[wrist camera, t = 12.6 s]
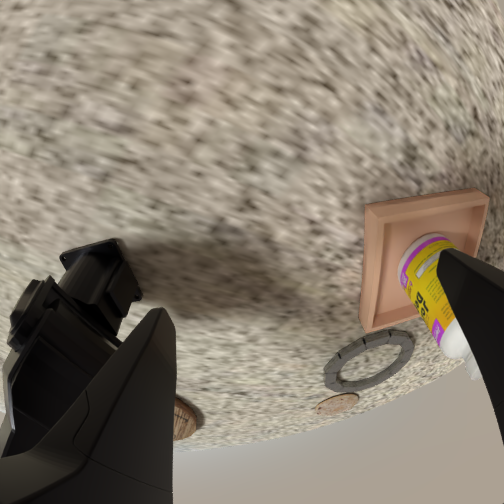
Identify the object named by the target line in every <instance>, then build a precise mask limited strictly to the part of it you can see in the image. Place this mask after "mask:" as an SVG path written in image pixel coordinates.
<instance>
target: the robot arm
mask: <svg viewBox="0 0 504 504" xmlns="http://www.w3.org/2000/svg"><path fill="white" fill-rule="evenodd" d="M110 244H111V245H113V247H111V246H110ZM64 257H65V258H66V259H65V258H64ZM60 261H61V262H62V264H63V266H64V268H65V269H66V272H65V274H64V275H63V277H62V279H61V280H60V282H59V283H58V284H57V283H56V282H55V280H54V279H53V278H52V277H51V275H49V276H48V277H47V278H46V279H45V280H42V281H38V280H35V279H33V280H32V281H31V282H30V283H29V285H28V286H27V288H26V289H25V291H24V292H23V294H22V295H21V297H20V298H19V300H18V302H17V304H16V305H15V307H14V309H13V311H12V313H11V315H10V322H11V328H10V331H9V336H8V339H7V344H8V345H9V346H10V347H11V348H12V349H11V351H10V353H9V355H8V357H7V359H6V361H5V363H4V365H3V369H2V372H3V388H4V399H5V407H6V415H5V418H4V421H3V423H2V426H1V428H0V504H173V493H172V492H173V489H172V488H173V487H172V472H173V471H172V469H173V432H174V411H175V394H176V379H177V364H176V330H175V326H174V324H173V322H172V320H171V318H170V316H169V315H168V313H167V311H166V309H165V308H163V307H160V308H153V309H151V310H150V311H149V312H148V313H147V314H146V316H145V317H144V318H143V319H142V320H141V321H140V323H139V324H138V325H137V326H136V327H135V329H134V330H133V331H132V332H131V333H130V334H129V336H128V337H127V338H126V339H125V340H124V342H122V341H120V340H119V339H118V338H117V337H115V336H117V334H118V331H119V328H120V325H121V322H122V319H123V318H126V316H127V314H128V311H129V308H130V305H131V303H132V302H136V301H140V300H141V299H142V296H143V294H142V292H141V290H140V288H139V286H138V282H137V280H136V278H135V277H134V275H133V273H132V271H131V269H130V267H129V265H128V263H127V261H126V260H125V259H124V257H123V255H122V253H121V250H120V248H119V246H118V244H117V242H116V241H115V240H113V239H108V240H105V241H101V242H97V243H94V244H90V245H86V246H83V247H79V248H76V249H72V250H69V251H66V252H63V253H62V254H61V255H60ZM436 274H437V277H438V279H439V281H440V284H441V286H442V288H443V290H444V293H445V295H446V297H447V300H448V302H449V304H450V307H451V309H452V311H453V313H454V315H455V318H456V320H457V321H458V323H459V325H460V327H461V330H462V332H463V334H464V336H465V338H466V340H467V342H468V344H469V346H470V349H471V351H472V353H473V355H474V358H475V360H476V362H477V365H478V367H479V370H480V372H481V375H482V377H483V380H484V383H485V385H486V388H487V391H488V393H489V396H490V399H491V402H492V405H493V408H494V412H495V415H496V418H497V422H498V425H499V429H500V432H501V436H502V440H503V444H504V271H502V270H500V269H498V268H496V267H494V266H491V265H489V264H487V263H485V262H483V261H481V260H479V259H476V258H474V257H472V256H470V255H468V254H465V253H463V252H461V251H459V250H456V249H454V248H446V249H443V250H442V251H441V252H440V255H439V260H438V264H437V268H436ZM136 295H138V296H136ZM503 504H504V503H503Z"/></svg>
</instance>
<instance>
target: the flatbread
mask: <svg viewBox="0 0 504 504" xmlns="http://www.w3.org/2000/svg"><path fill="white" fill-rule="evenodd" d="M357 402H358V396H357V395H355V394H344V395H339V396H335V397H332V398H330V399H327V400H325V401H323V402H321V403H320V404H318V405H317V406H316V408H315V411H316V413H317V414H319V415H321V416H333V415H335V414H338V413H341V412H344V411H347V410H349V409H351V408H352V407H353V406H354V405H355V404H356V403H357Z"/></svg>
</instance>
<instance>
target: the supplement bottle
mask: <svg viewBox="0 0 504 504" xmlns="http://www.w3.org/2000/svg"><path fill="white" fill-rule="evenodd" d="M446 248H454V249H456V250H459V249H458V248H457V247H456V246H455V245H454V244H453V243H452V242H451V241H450V240H449V239H448V238H446V237H445V236H444V235H441V234H438V233H431V234H427V235H424V236H422V237H420V238H419V239H417V240H416V241H415V242H414V243H412V244H411V245H410V246H409V248H408V249H407V250H406V251H405V253H404V254H403V256H402V258H401V260H400V263H399V266H398V280H399V283H400V285H401V286H402V288H403V289H404V291H405V292H406V294H407V295H408V297H409V298H410V300H411V302H412V303H413V305H414V306H415V308H416V309H417V311H418V313H419V314H420V315H421V317H422V319H423V320H424V322H425V323H426V325H427V327H428V328H429V330H430V331H431V333H432V335H433V336H434V338H435V340H436V342H437V343H438V345H439V347H440V349H441V350H442V352H443V353H444V355H445V356H447V357H448V358H451V359H461V358H463V359H464V361H465V366H466V371H467V372H468V374H469V376H470V378H471V379H472V380H477V379H479V378H481V377H482V375H481V372H480V370H479V367H478V365H477V362H476V360H475V358H474V355H473V353H472V351H471V349H470V346H469V344H468V342H467V340H466V338H465V336H464V334H463V332H462V330H461V327H460V325H459V323H458V321H457V320H456V318H455V315H454V313H453V311H452V309H451V307H450V304H449V302H448V300H447V297H446V295H445V293H444V290H443V288H442V286H441V284H440V281H439V279H438V277H437V274H436V268H437V264H438V260H439V255H440V252H441V251H442V250H443V249H446ZM459 251H460V250H459Z"/></svg>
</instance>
